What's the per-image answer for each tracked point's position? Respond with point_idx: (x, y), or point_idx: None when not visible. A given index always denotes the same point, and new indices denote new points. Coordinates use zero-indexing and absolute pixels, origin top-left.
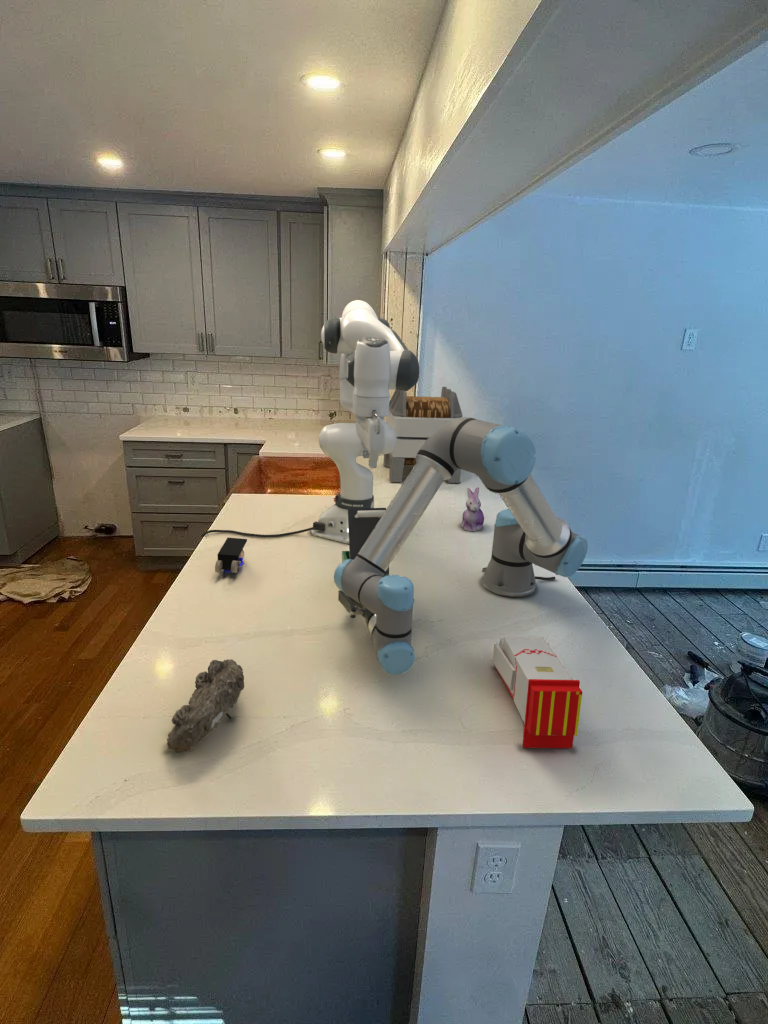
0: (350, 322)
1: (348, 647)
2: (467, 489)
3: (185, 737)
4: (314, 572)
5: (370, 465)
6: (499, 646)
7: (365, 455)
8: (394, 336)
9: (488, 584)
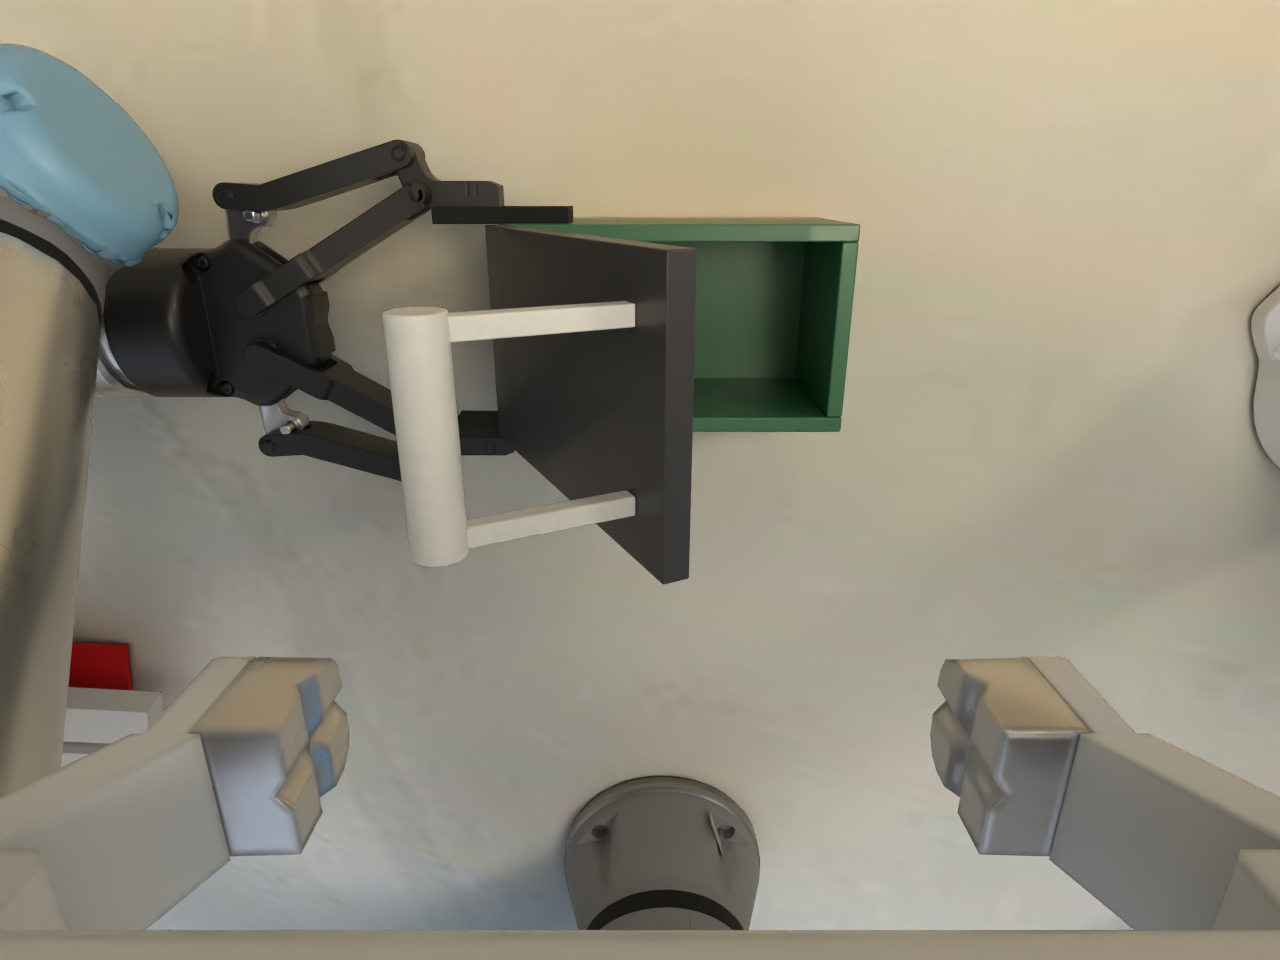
0: None
1: (221, 166)
2: None
3: None
4: (945, 77)
5: (201, 688)
6: (153, 694)
7: (965, 717)
8: None
9: (633, 796)
